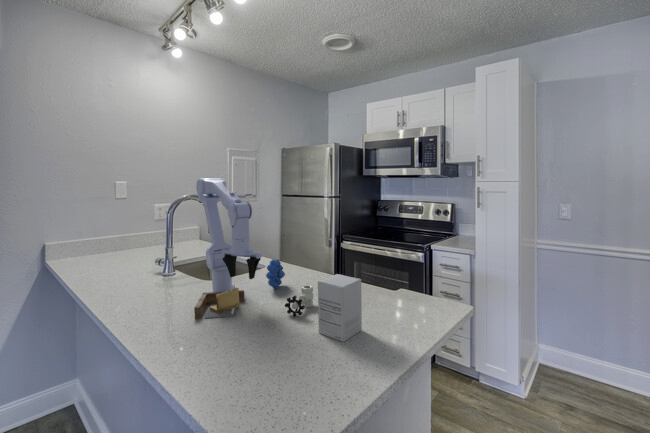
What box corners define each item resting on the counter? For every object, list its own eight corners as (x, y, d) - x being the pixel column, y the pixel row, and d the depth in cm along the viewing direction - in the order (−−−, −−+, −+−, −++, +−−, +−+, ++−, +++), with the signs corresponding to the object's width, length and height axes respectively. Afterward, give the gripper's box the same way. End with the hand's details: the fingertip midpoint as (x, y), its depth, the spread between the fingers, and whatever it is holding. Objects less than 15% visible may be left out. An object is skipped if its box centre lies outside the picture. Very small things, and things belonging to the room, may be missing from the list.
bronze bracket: (219, 313, 104) (217, 295, 103) (209, 310, 107) (208, 292, 106) (239, 305, 110) (238, 288, 110) (230, 302, 113) (229, 285, 113)
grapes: (278, 294, 122) (278, 262, 121) (262, 292, 124) (261, 261, 123) (291, 284, 133) (290, 255, 132) (276, 283, 135) (275, 254, 134)
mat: (210, 305, 112) (210, 304, 112) (237, 303, 113) (237, 302, 113) (204, 318, 101) (204, 317, 101) (234, 316, 102) (234, 315, 102)
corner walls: (203, 302, 115) (203, 292, 114) (244, 299, 117) (244, 290, 117) (194, 318, 101) (194, 307, 101) (241, 315, 103) (241, 304, 103)
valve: (301, 302, 114) (284, 315, 103) (301, 284, 113) (284, 295, 102) (318, 304, 112) (303, 318, 101) (318, 286, 111) (303, 297, 100)
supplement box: (337, 322, 98) (336, 273, 96) (362, 330, 92) (362, 278, 91) (317, 333, 91) (316, 280, 89) (343, 342, 85) (343, 287, 84)
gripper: (265, 237, 112) (266, 276, 113) (229, 235, 117) (231, 272, 118) (254, 240, 105) (255, 281, 107) (217, 238, 110) (218, 277, 112)
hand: (242, 277), depth 112 cm, fingers open, 7 cm apart
